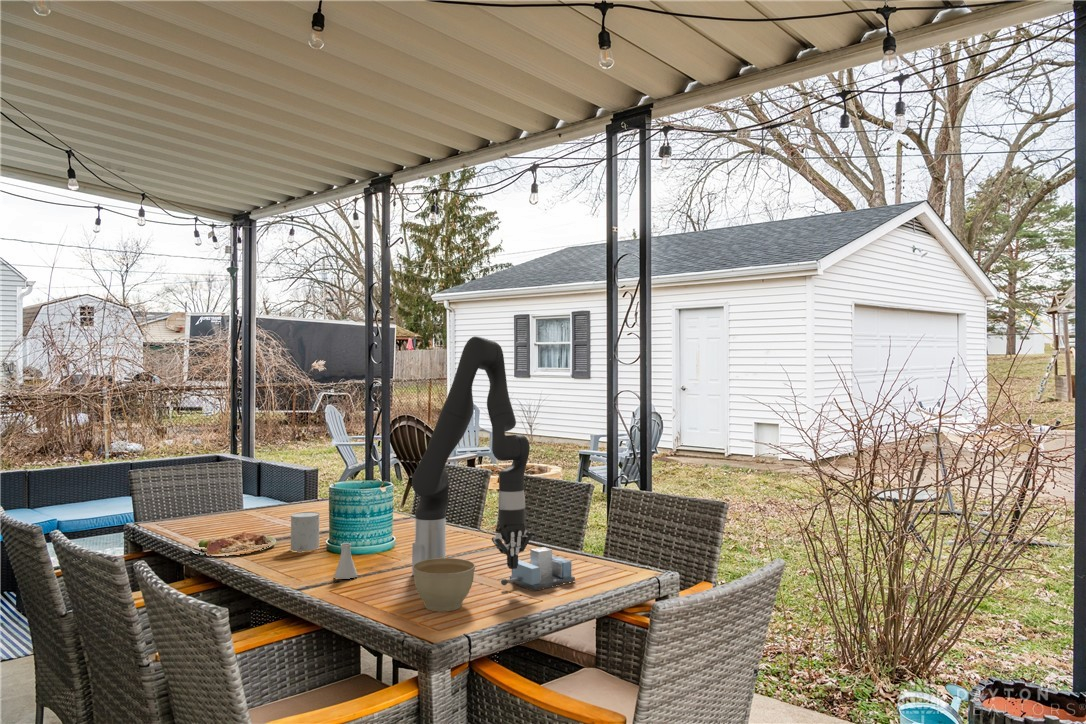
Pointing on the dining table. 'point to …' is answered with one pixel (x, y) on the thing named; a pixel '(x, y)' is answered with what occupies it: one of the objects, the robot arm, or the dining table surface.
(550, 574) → the steel block
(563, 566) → the vise
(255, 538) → the rice dish
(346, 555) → the flask
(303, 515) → the grey cylinder
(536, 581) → the sliding jaw
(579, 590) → the dining table surface
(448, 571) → the planter bowl
